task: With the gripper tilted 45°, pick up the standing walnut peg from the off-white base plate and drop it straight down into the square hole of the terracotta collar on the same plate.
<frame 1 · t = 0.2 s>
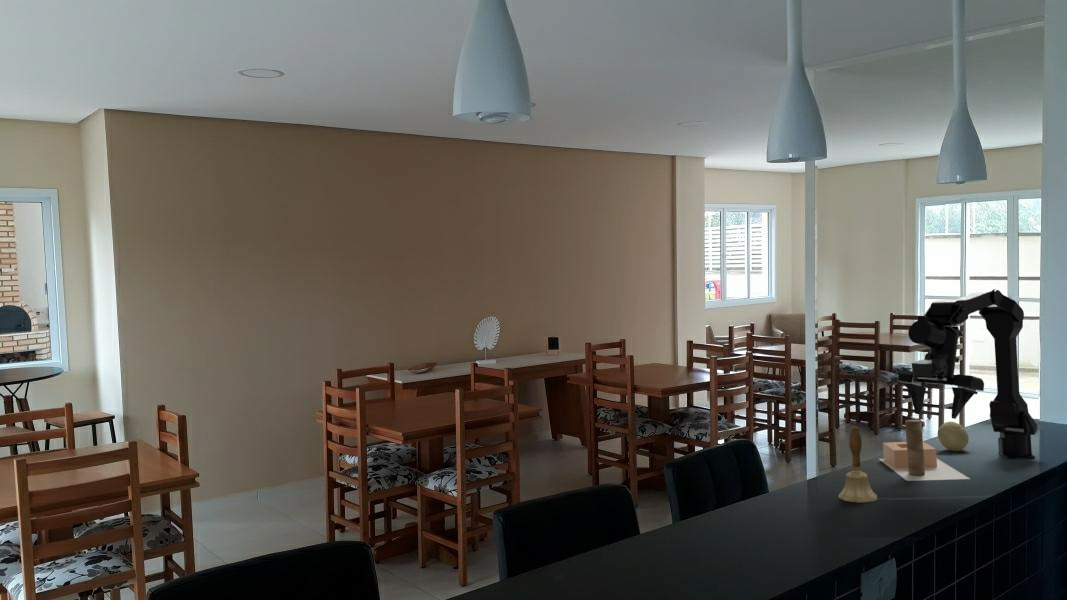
hand: (935, 416, 189), 15 cm above the counter, tool tilted 15°, fingers open, 9 cm apart
walnut peg: (916, 474, 193), resting on collar plate
potato: (954, 451, 217), on the counter
collar plate: (909, 465, 205), on the counter
hand bell: (858, 498, 178), on the counter
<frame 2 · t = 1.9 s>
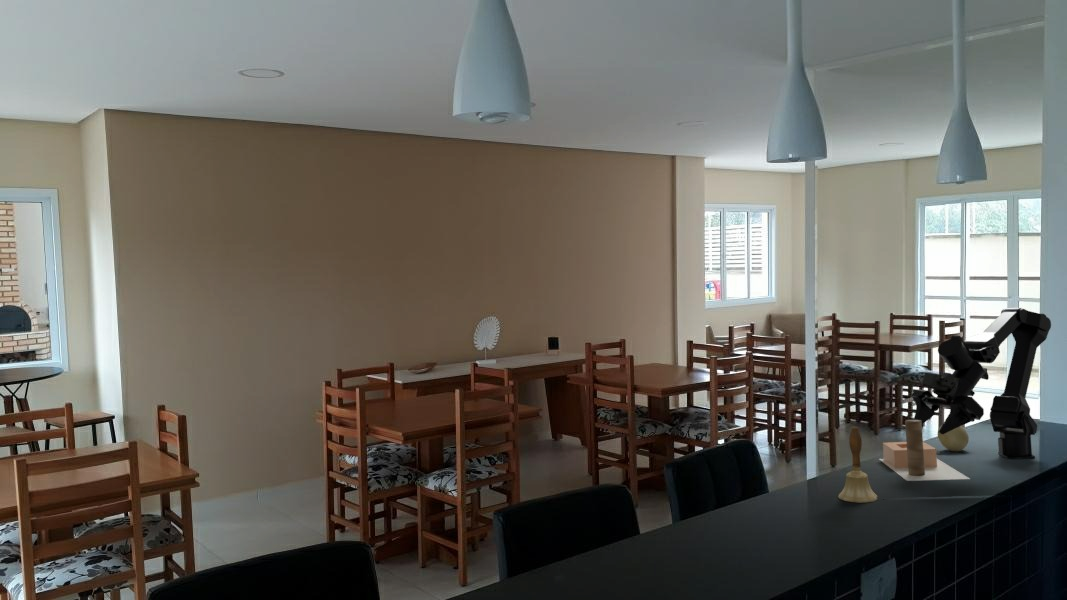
hand: (927, 430, 194), 11 cm above the counter, tool tilted 45°, fingers open, 9 cm apart
nothing on the counter moved.
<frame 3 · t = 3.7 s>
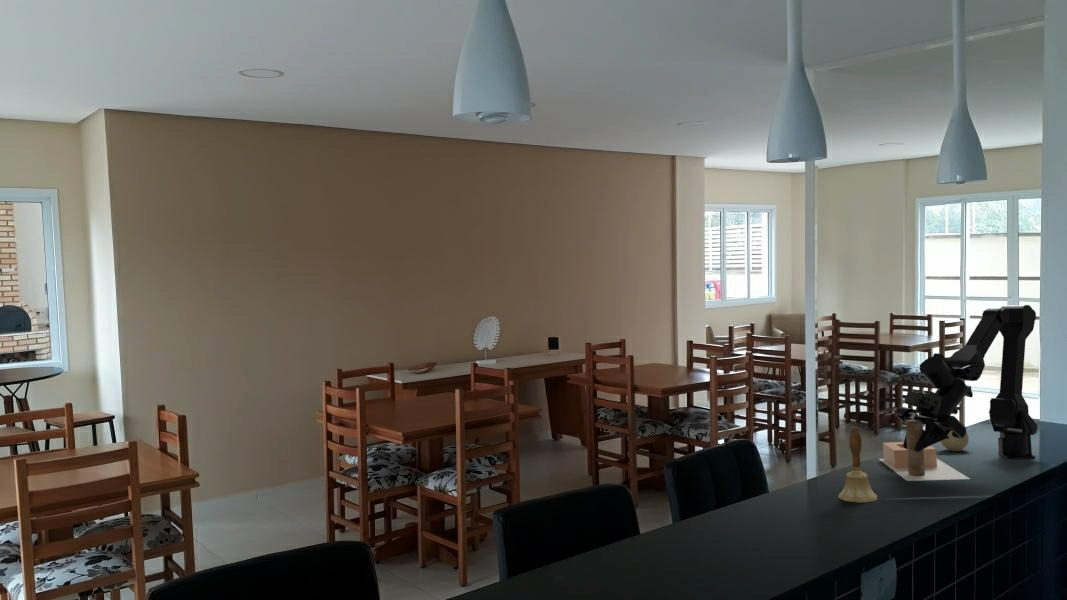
hand: (910, 449, 193), 7 cm above the counter, tool tilted 45°, fingers closed on walnut peg, 4 cm apart
walnut peg: (916, 474, 193), point 1 cm above the counter, touching collar plate, gripper
everything else where it was.
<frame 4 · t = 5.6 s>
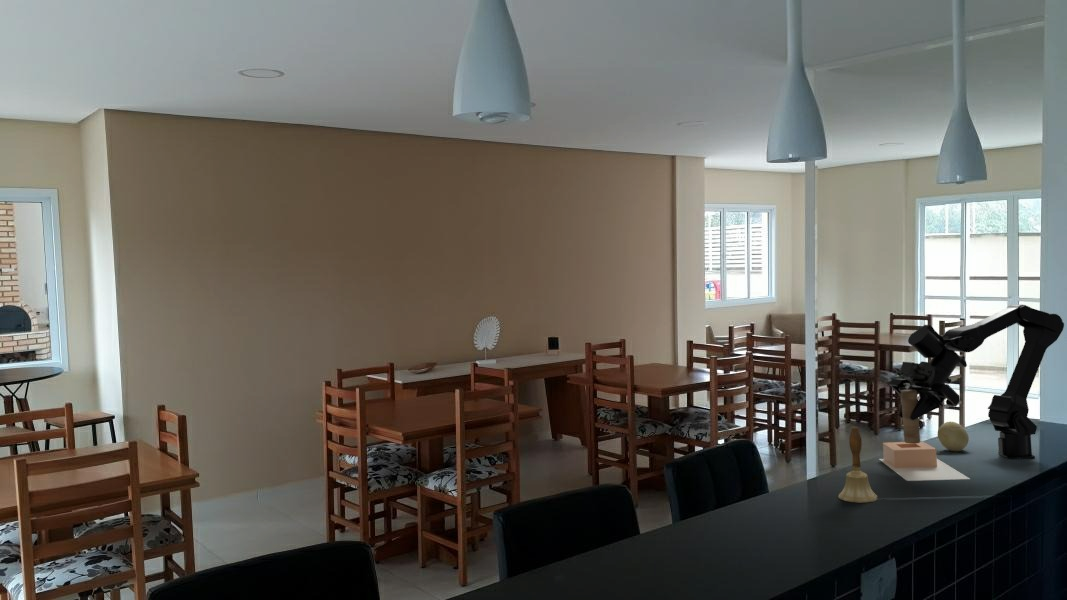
hand: (905, 417, 200), 13 cm above the counter, tool tilted 45°, fingers closed on walnut peg, 4 cm apart
walnut peg: (912, 442, 200), point 7 cm above the counter, touching gripper
everything else where it was.
when the fingers open (8 cm above the counter, at t = 7.5 s): walnut peg drops 1 cm, resting on collar plate.
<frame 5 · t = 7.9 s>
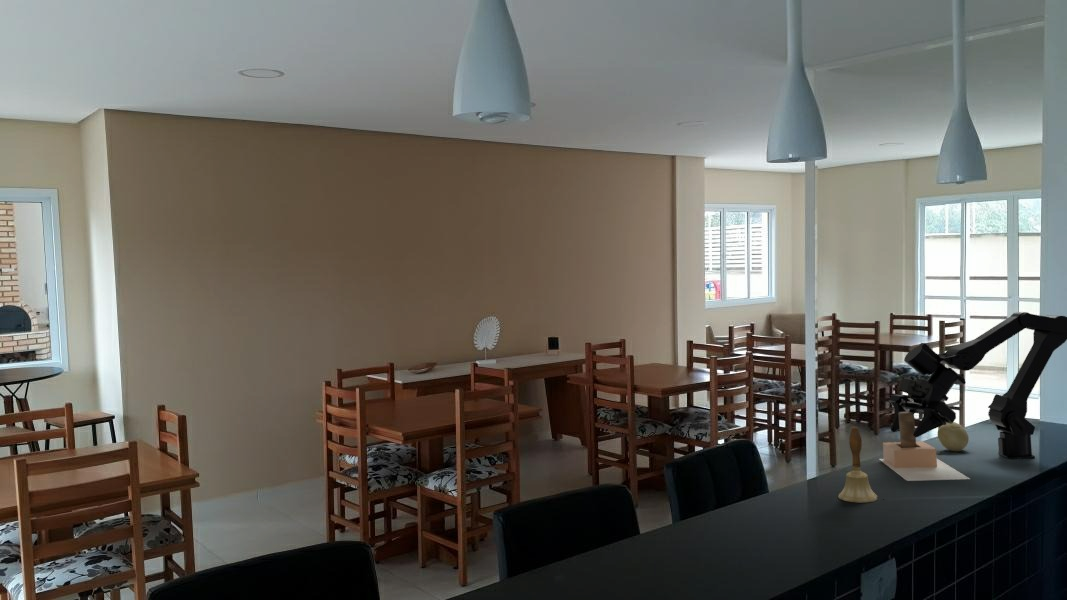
hand: (903, 433, 205), 8 cm above the counter, tool tilted 45°, fingers open, 8 cm apart
walnut peg: (909, 463, 205), point 1 cm above the counter, touching collar plate
everything else where it was.
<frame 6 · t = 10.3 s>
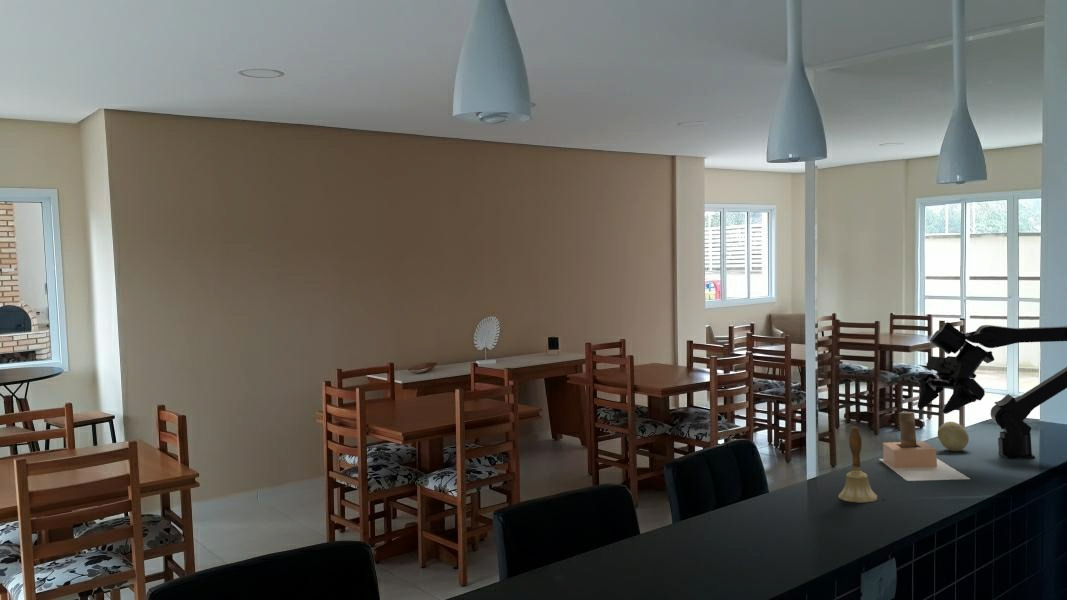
hand: (931, 410, 207), 13 cm above the counter, tool tilted 45°, fingers open, 9 cm apart
nothing on the counter moved.
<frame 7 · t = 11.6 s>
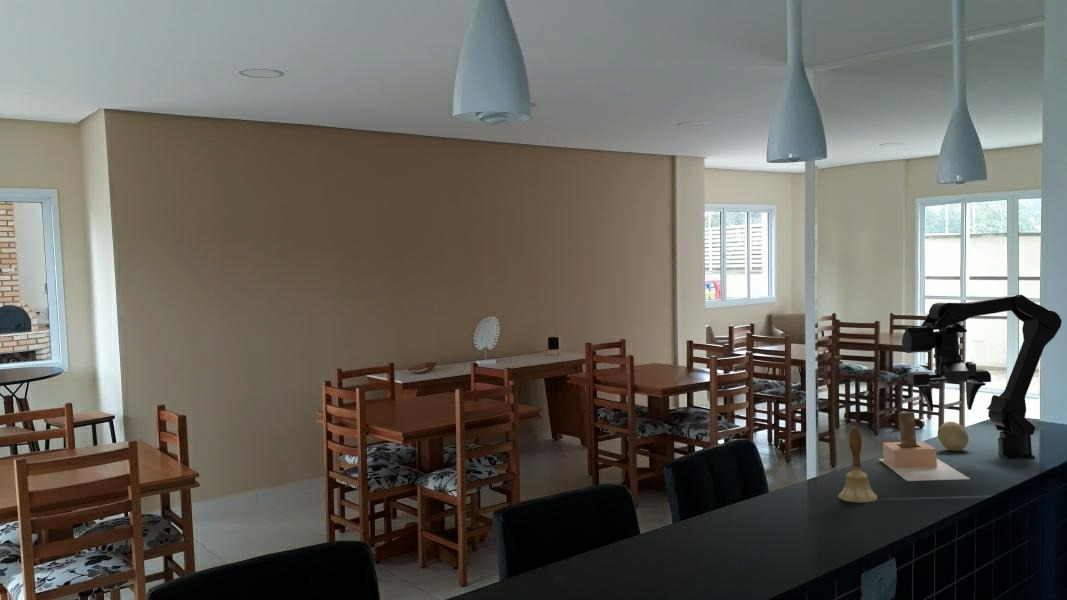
hand: (950, 410, 207), 13 cm above the counter, tool pointing down, fingers open, 9 cm apart
nothing on the counter moved.
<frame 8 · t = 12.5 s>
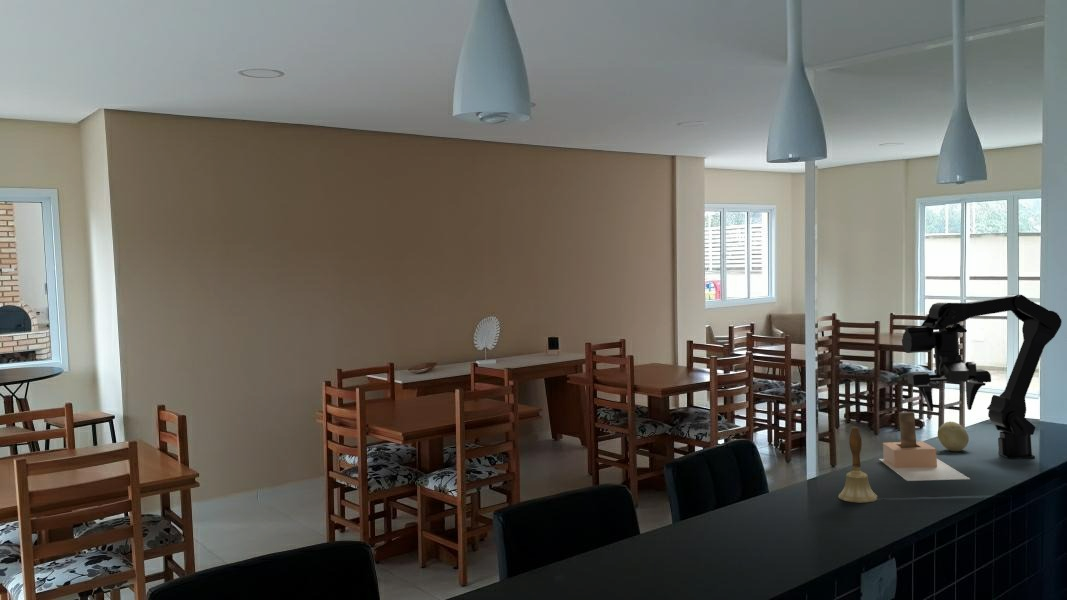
hand: (950, 410, 207), 13 cm above the counter, tool pointing down, fingers open, 9 cm apart
nothing on the counter moved.
at the end: walnut peg 0.0 cm off-centre on the collar plate, point 0.5 cm above the collar plate's base; walnut peg tilted 0°; the gripper is holding nothing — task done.
